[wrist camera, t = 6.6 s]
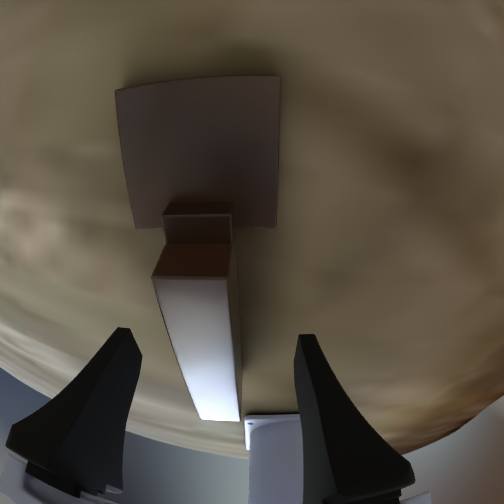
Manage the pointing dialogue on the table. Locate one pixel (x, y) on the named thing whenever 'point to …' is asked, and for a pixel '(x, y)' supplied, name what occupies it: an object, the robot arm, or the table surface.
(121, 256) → the table surface
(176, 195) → the spatula
